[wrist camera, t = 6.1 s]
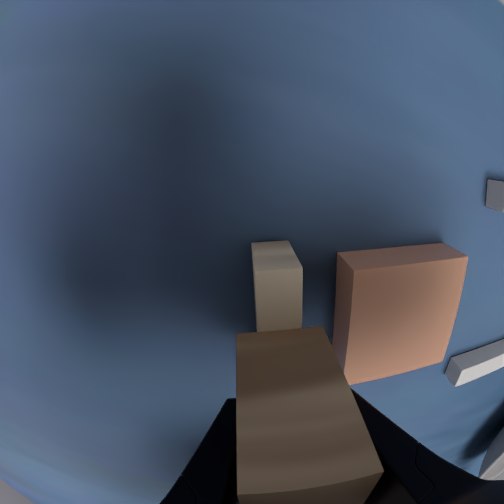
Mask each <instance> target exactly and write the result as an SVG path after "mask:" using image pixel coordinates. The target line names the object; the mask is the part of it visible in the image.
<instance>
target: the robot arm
mask: <svg viewBox="0 0 504 504" xmlns="http://www.w3.org/2000/svg"><path fill="white" fill-rule="evenodd" d="M350 389H351V388H350ZM351 391H352V394H353V396H354V398H355V401H356V403H357V406H358V408H359V410H360V413H361V415H362V418H363V420H364V422H365V425H366V427H367V430H368V432H369V435H370V437H371V440H372V442H373V445H374V447H375V450H376V452H377V455H378V457H379V460H380V462H381V465H382V467H383V470H384V472H383V474H382V476H381V477H380V479H379V480H378V482H377V484H376V485H375V487H374V488H373V490H372V492H371V493H370V495H369V496H368V498H367V499H366V501H365V502H364V504H504V480H494V481H493V480H485V479H481V478H478V477H476V476H474V475H472V474H470V473H468V472H466V471H464V470H462V469H460V468H459V467H457V466H455V465H453V464H451V463H449V462H448V461H446V460H444V459H443V458H441V457H439V456H438V455H436V454H435V453H433V452H432V451H431V450H429V449H428V448H426V447H425V446H424V445H422V444H421V443H420V442H419V443H418V441H417V440H416V439H414V438H413V437H412V436H410V435H409V434H408V433H406V432H405V431H404V430H403V429H401V428H400V427H399V426H397V425H396V424H395V423H394V422H392V421H391V420H390V419H389V418H387V417H386V416H385V415H383V414H382V413H381V412H380V411H378V410H377V409H376V408H375V407H373V406H372V405H371V404H370V403H368V402H367V401H366V400H365V399H364V398H362V397H361V396H360V395H359V394H357V393H356V392H355V391H354V390H352V389H351ZM181 475H182V476H179V478H178V480H177V481H176V483H175V484H174V486H173V487H172V488H171V490H170V491H169V493H168V494H167V495H166V497H165V498H164V499H163V500H162V501H161V502H160V504H240V503H239V499H238V495H237V431H236V398H229V399H227V400H226V401H225V403H224V405H223V407H222V408H221V410H220V412H219V413H218V415H217V417H216V418H215V420H214V422H213V423H212V425H211V427H210V428H209V430H208V432H207V433H206V435H205V437H204V438H203V440H202V442H201V443H200V445H199V446H198V448H197V450H196V451H195V453H194V455H193V456H192V458H191V459H190V461H189V462H188V464H187V466H186V467H185V469H184V470H183V472H182V473H181Z"/></svg>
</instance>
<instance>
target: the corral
mask: <svg viewBox="0 0 504 504" xmlns="http://www.w3.org/2000/svg"><path fill="white" fill-rule="evenodd" d="M486 207H489V208H491V209H494V210H497V211H500V212H503V213H504V181H496V180H489V179H487V195H486ZM503 366H504V339H502V340H499V341H497V342H494V343H491V344H489V345H486V346H483V347H481V348H478V349H475V350H472V351H469V352H466V353H463V354H460V355H457V356H454V357H451V359H450V361H449V364H448V367H447V369H446V372H445V375H446V377H447V378H448V379H449V380H450V382H451V383H452V384H453V386H454V387H456V386H459V385H462V384H464V383H467V382H469V381H472V380H474V379H477V378H479V377H481V376H484V375H486V374H488V373H491V372H493V371H495V370H497V369H499V368H501V367H503Z"/></svg>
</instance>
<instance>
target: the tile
mask: <svg viewBox="0 0 504 504" xmlns="http://www.w3.org/2000/svg"><path fill="white" fill-rule="evenodd" d="M467 262H468V256H467V255H465V254H463V253H461V252H460V251H458V250H456V249H454V248H452V247H450V246H449V245H447V244H445V243H434V244H423V245H412V246H402V247H391V248H380V249H368V250H357V251H346V252H337V272H336V295H335V312H334V327H333V339H332V348H333V350H334V352H335V354H336V357H337V359H338V361H339V363H340V366H341V368H342V370H343V373H344V375H345V377H346V380H347V382H348V384H349V385H352V384H357V383H362V382H367V381H371V380H376V379H380V378H384V377H388V376H393V375H397V374H400V373H404V372H408V371H412V370H415V369H419V368H422V367H426V366H429V365H432V364H435V363H439V362H442V361H443V358H444V355H445V352H446V349H447V346H448V343H449V339H450V336H451V333H452V329H453V325H454V322H455V318H456V314H457V310H458V306H459V302H460V298H461V293H462V288H463V284H464V278H465V273H466V268H467Z"/></svg>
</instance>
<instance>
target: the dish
mask: <svg viewBox="0 0 504 504" xmlns="http://www.w3.org/2000/svg"><path fill="white" fill-rule="evenodd" d="M503 471H504V427H503V428H502V430H501V431H500V432H499V433H498V435H497V436H496V438H495V439H494V440H493V442H492V443H491V445H490V447H489V449H488V450H487V453H486V455H485V457H484V459H483V462H482V465H481V468H480V472H479V476H478V478H481V479H485V480H492V479H493V478H495V477H496V476H498V475H499V474H500V473H502V472H503Z"/></svg>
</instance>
